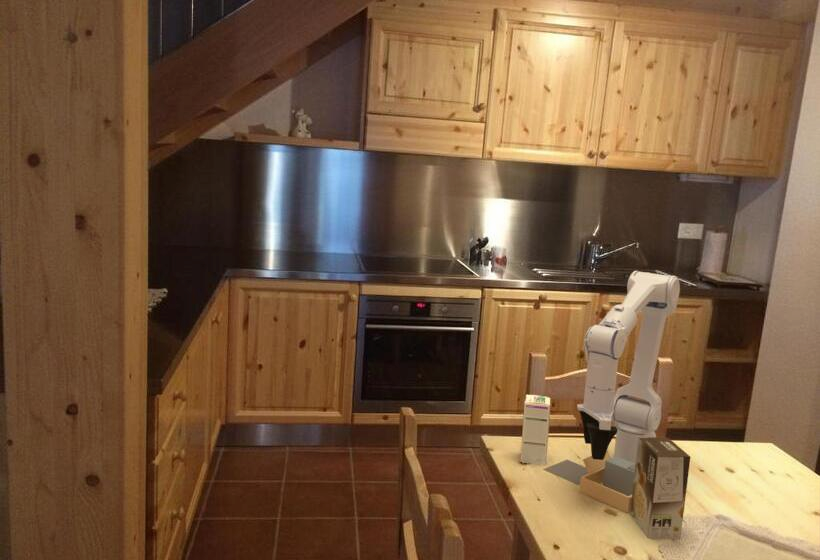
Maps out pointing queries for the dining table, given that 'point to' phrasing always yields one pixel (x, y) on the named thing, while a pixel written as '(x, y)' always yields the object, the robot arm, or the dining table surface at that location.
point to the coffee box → (659, 487)
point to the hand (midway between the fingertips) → (593, 450)
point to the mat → (568, 471)
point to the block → (619, 475)
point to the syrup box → (535, 429)
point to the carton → (595, 488)
